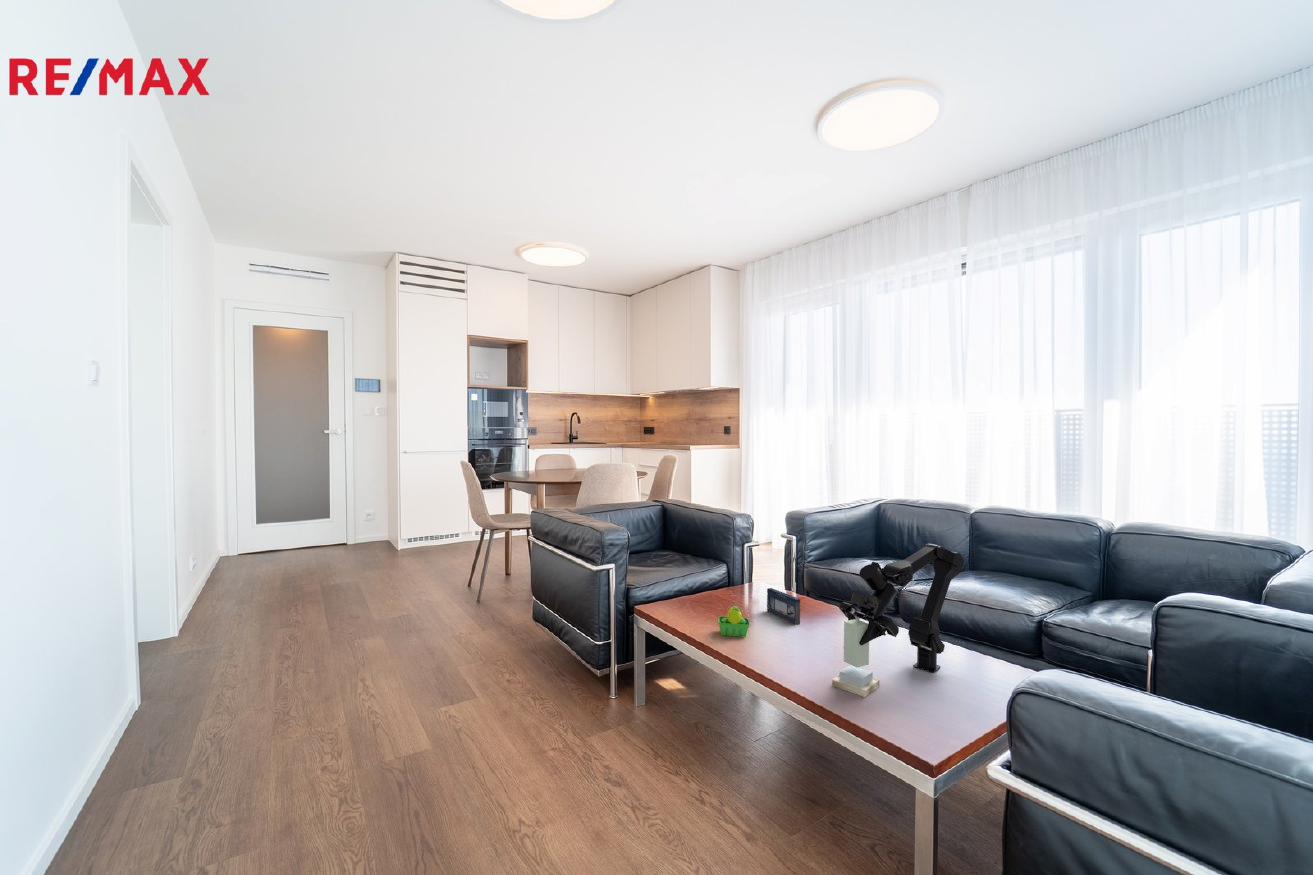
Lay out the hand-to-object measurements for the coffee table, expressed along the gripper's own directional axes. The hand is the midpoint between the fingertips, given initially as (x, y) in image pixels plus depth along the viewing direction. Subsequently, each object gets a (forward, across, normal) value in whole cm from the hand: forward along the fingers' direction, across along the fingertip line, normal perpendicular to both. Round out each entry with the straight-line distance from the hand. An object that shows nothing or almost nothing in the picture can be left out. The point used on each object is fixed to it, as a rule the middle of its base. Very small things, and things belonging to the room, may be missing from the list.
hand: (853, 641), depth 165 cm
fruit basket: (+15, -51, +5) cm, 53 cm away
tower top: (+7, 0, +9) cm, 12 cm away
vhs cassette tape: (-7, -59, +26) cm, 65 cm away
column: (+4, 0, +6) cm, 7 cm away
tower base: (+9, 0, +11) cm, 14 cm away
